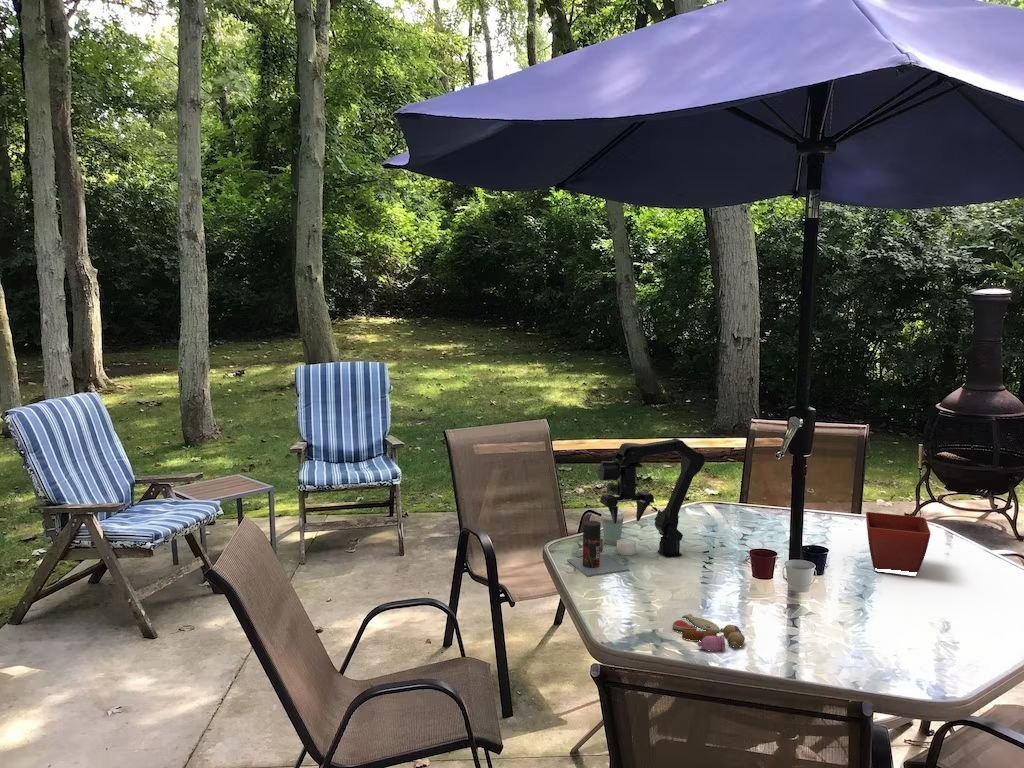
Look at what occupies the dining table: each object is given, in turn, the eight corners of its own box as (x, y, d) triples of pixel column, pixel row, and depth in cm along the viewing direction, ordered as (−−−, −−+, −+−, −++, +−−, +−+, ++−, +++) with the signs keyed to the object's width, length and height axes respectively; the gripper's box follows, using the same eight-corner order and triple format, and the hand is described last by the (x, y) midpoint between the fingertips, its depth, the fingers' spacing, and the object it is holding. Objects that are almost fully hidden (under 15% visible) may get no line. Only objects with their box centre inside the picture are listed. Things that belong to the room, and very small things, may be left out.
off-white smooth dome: (630, 548, 299) (630, 537, 298) (639, 554, 292) (639, 543, 292) (613, 550, 296) (613, 540, 296) (622, 556, 290) (622, 546, 289)
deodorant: (586, 560, 283) (587, 519, 281) (602, 563, 280) (603, 522, 278) (579, 566, 278) (580, 524, 276) (595, 569, 275) (596, 526, 273)
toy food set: (766, 647, 221) (767, 633, 220) (731, 666, 210) (732, 651, 210) (690, 617, 240) (690, 604, 239) (654, 632, 230) (654, 619, 229)
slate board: (607, 555, 290) (607, 553, 290) (629, 570, 276) (629, 569, 275) (567, 560, 285) (567, 559, 285) (587, 576, 270) (587, 575, 270)
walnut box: (593, 548, 298) (593, 535, 298) (602, 552, 294) (602, 538, 294) (583, 550, 295) (583, 537, 295) (592, 554, 291) (592, 541, 291)
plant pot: (864, 574, 274) (867, 526, 271) (862, 556, 291) (865, 511, 289) (927, 582, 267) (931, 533, 264) (921, 563, 284) (925, 517, 282)
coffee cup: (623, 539, 308) (623, 509, 306) (623, 547, 300) (624, 515, 298) (600, 538, 309) (601, 508, 307) (600, 546, 300) (601, 514, 299)
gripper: (639, 472, 295) (638, 513, 297) (593, 476, 289) (592, 518, 291) (655, 479, 285) (653, 522, 287) (608, 483, 278) (606, 527, 280)
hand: (626, 522), depth 287 cm, fingers open, 9 cm apart
